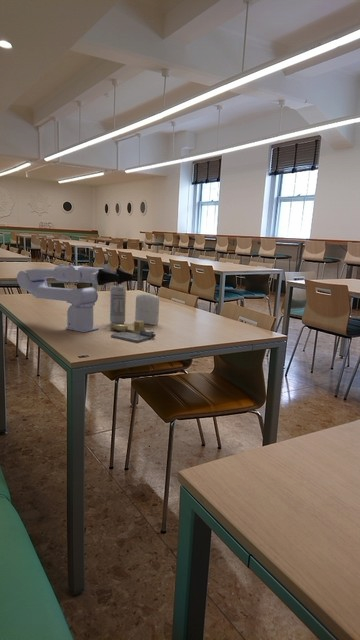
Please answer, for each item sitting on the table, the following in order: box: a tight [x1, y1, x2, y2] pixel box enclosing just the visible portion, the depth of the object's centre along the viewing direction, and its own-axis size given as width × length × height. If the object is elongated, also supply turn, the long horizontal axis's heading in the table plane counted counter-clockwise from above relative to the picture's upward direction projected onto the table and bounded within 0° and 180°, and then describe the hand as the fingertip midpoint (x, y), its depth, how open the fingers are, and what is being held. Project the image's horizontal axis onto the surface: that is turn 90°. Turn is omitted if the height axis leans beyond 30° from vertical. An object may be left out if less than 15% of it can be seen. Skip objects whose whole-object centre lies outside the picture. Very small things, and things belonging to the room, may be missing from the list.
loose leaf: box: [109, 320, 152, 334], centre depth 156 cm, size 12×10×4 cm
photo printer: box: [134, 293, 160, 326], centre depth 170 cm, size 10×4×12 cm, turn 60°
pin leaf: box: [110, 330, 157, 344], centre depth 146 cm, size 13×10×2 cm
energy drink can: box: [109, 285, 127, 325], centre depth 167 cm, size 6×6×15 cm
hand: (125, 277), depth 141 cm, fingers open, 7 cm apart
